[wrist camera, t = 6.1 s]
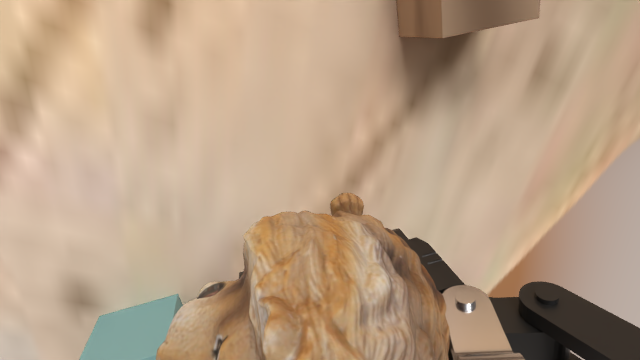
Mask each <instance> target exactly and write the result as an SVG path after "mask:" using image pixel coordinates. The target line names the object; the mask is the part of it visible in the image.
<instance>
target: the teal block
mask: <svg viewBox="0 0 640 360" xmlns="http://www.w3.org/2000/svg"><path fill="white" fill-rule="evenodd" d="M182 306H183V305H182V303H181V300H180V298H179V296H178V294H176V295H173V296H169V297H166V298H162V299H158V300H155V301H151V302H148V303H144V304H141V305H137V306H134V307H130V308H127V309H123V310H120V311H116V312H112V313H109V314H105V315H102V316H99V318H98V321H97V323H96V325H95V327H94V329H93V331H92V333H91V336H90V338H89V340H88V342H87V344H86V346H85V348H84V351H83V353H82V355H81V357H80V359H79V360H156V354H157V349H158V348H159V347H160V345H161V344H162V343H163V342H164V341H165V339H166V336H167V333H168V330H169V327H170V324H171V322H172V320H173V318H174V316H175V314H176V313H177V312H178V310H179V309H180V308H181V307H182Z"/></svg>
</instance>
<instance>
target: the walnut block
mask: <svg viewBox="0 0 640 360" xmlns="http://www.w3.org/2000/svg"><path fill="white" fill-rule="evenodd" d="M396 3H397V15H398V27H399V37H422V38H446V37H451V36H456V35H460V34H465V33H470V32H475V31H479V30H484V29H489V28H494V27H498V26H503V25H508V24H513V23H517V22H522V21H527V20H532V19H537V18H539V10H540V0H396Z"/></svg>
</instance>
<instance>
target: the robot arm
mask: <svg viewBox="0 0 640 360" xmlns="http://www.w3.org/2000/svg"><path fill="white" fill-rule="evenodd" d="M392 231H394V232H395V233H396V234H397V235H398V236H400V237H401V238H402V239H403V240H404V241H405V242H406V243H407V244H408V246H409V247H410V248H411V249H412V250H414V251H415V252H416V253H417V255H418V256H419V259H420V263H421V264H422V265H423V266H424V267H425V268H426V270H427V272H428V273H429V275H430V276H431V278H432V279H433V281H434V284H435V286H436V290H438V291H439V292H440V293H441V294H442V295H443V297H444V299H445V303H446V313H445V316H446V320H447V323H448V325H449V329H450V342H449V351H448V358H449V360H581V359H580V358H578V357H577V356H575V355H574V354H572V353H571V352H570V350H572V351H573V352H574V353H576V354H577V355H579V356H580V357H582V358H583V359H585V360H640V328H638V327H636V326H635V325H633V324H631V323H629V322H627V321H625V320H623V319H621V318H619V317H617V316H616V315H614V314H612V313H610V312H608V311H606V310H604V309H602V308H600V307H598V306H597V305H595V304H593V303H591V302H589V301H587V300H585V299H583V298H581V297H579V296H578V295H575V294H574V293H572V292H570V291H568V290H566V289H564V288H562V287H560V286H558V285H555V284H552V283H547V282H531V283H528V284H526V285H524V286H523V287H522V288H521V289H520V292H519V297H507V298H492V297H488V296H487V295H486V294H485V293H484V292H483V291H481V290H480V289H478V288H475V287H472V286H467V285H465V284H464V283H463V282H462V281H461V280H460V279H459V278H458V276H457V275H456V274H455V273H454V272H453V271H452V270H451V269H450V267H449V266H448V265H447V264H446V263H445V262H444V261H442V258H441V257H440V256H439V255H438V254H436V252H435V251H434V249H433V248H432V247H431V246H430V245H429V244H428V243H426V242H424V241H422V240H420V239H418V238H413V239H409V240H408V238H407V237H406V236H405V235H404V233H403V232H402V231H401V230H400V229H399V228H398V229H394V230H392ZM243 273H244V271H243V272H240V273H239V279H240V277H241V276H242V275H243Z"/></svg>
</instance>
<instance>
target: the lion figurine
mask: <svg viewBox="0 0 640 360" xmlns="http://www.w3.org/2000/svg"><path fill="white" fill-rule="evenodd" d="M330 207H331V214H332V216H330V215H328V214H314V213H311V212H309V211H302V212H300V213H298V214H297V213H295V212H281V213H279V214H277V215H274V216H272V217H268V216H267V217H263V218H262V219H261V220H260V221H259V222H256V223H254V224H253V225H252V226H251V228H250V229H249V230H248V231H247V232H246V233H245V234H244V236H243V237H244V240H245V242H244V249H243V256H244V266H245V268H244V273H243V275H242V276H241V277H240V279H238V280H236V281H223V282H210V283H208V284H206V285H205V286H204V287H203V288H202V289H201V290H200V292H199V294H198V296H197V299H194V300H191V301H189V302H187V303H185V304H184V305H183V306H182V307H181V308H180V309H179V310H178V312H177V313H176V314H175V316H174V318H173V320H172V322H171V324H170V327H169V330H168V333H167V336H166V339H165V341H164V342H163V343H162V344H161V345H160V347H159V348H158V349H157V354H156V360H449V358H448V351H449V342H450V329H449V325H448V323H447V320H446V316H445V313H446V303H445V299H444V297H443V295H442V294H441V293H440V292H439V291H438V290H436V286H435V284H434V281H433V279H432V278H431V276H430V275H429V273H428V272H427V270H426V268H425V267H424V266H423V265H422V264H421V263H420V259H419V256H418V255H417V253H416V252H415V251H414V250H412V249H411V248H410V247H409V246H408V244H407V243H406V242H405V241H404V240H403V239H402V238H401V237H400V236H398V235H397V234H396V233H395V232H394V231H392V230H390V229H388V228H384V227H383V224H382V222H380V221H379V220H377V219H376V218H374V217H372V216H370V215H362V213H363V208H364V205H363V201H362V200H361V199H360V198H359V197H358V196H356V195H354V194H352V193H342V194H340V195H339V196H337V197H336V198H334V199H333V200H332V201H331V204H330Z"/></svg>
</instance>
